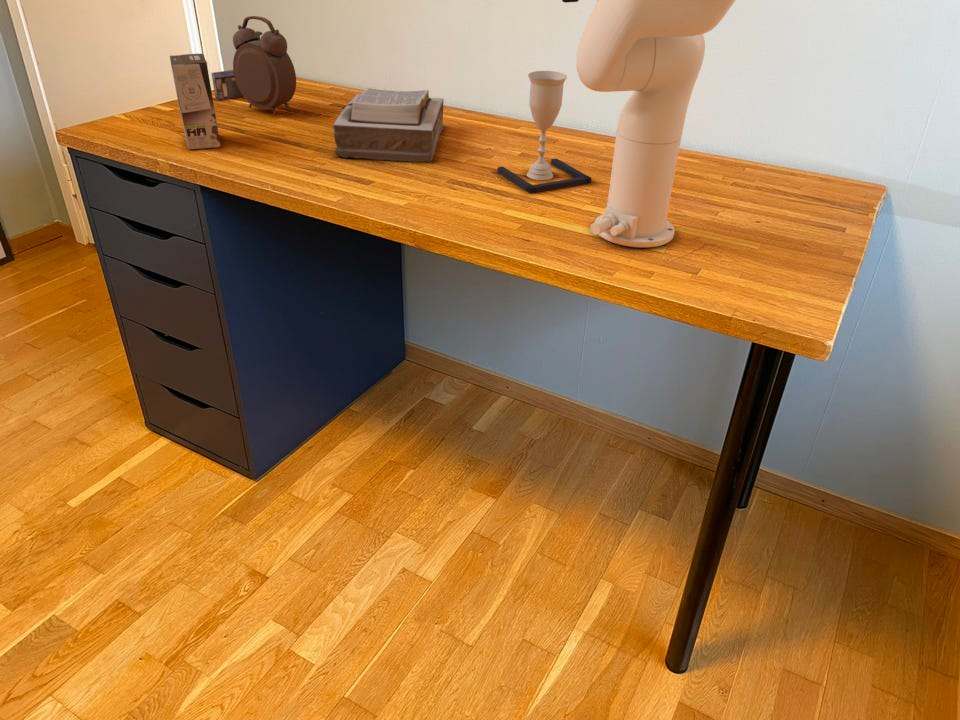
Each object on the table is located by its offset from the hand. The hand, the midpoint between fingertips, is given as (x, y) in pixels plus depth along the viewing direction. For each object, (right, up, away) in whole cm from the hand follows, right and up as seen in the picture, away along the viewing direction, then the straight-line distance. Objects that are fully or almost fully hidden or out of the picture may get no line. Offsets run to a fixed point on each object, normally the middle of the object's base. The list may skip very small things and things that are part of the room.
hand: (587, 6), depth 124 cm
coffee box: (-74, -16, +25) cm, 80 cm away
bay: (-6, -26, +13) cm, 30 cm away
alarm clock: (-67, -2, +46) cm, 81 cm away
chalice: (-7, -25, +14) cm, 30 cm away
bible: (-36, -14, +29) cm, 49 cm away
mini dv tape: (-78, +4, +55) cm, 95 cm away
